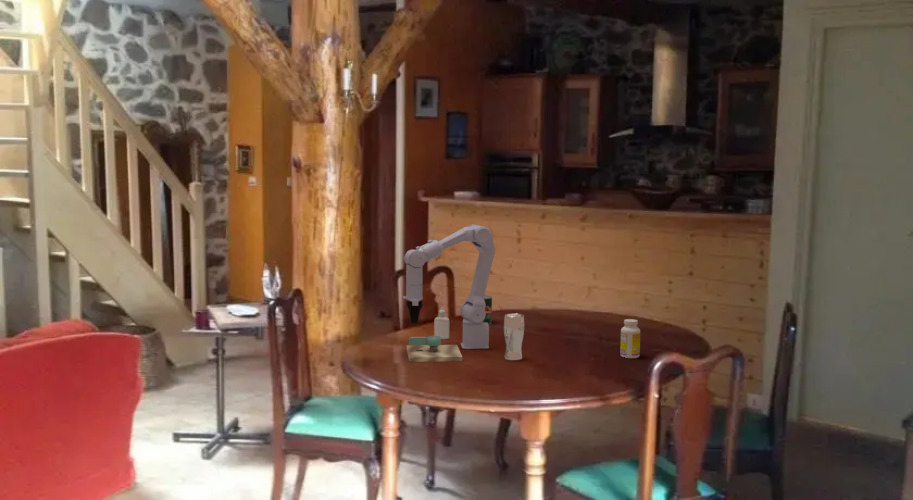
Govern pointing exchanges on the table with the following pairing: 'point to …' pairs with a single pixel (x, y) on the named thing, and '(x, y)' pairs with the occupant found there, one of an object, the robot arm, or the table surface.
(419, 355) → the post base
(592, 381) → the table surface
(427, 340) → the knob
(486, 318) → the canned tomato
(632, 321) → the supplement bottle
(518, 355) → the beer glass
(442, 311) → the eye dropper bottle
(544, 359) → the table surface
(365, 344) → the table surface
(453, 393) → the table surface
